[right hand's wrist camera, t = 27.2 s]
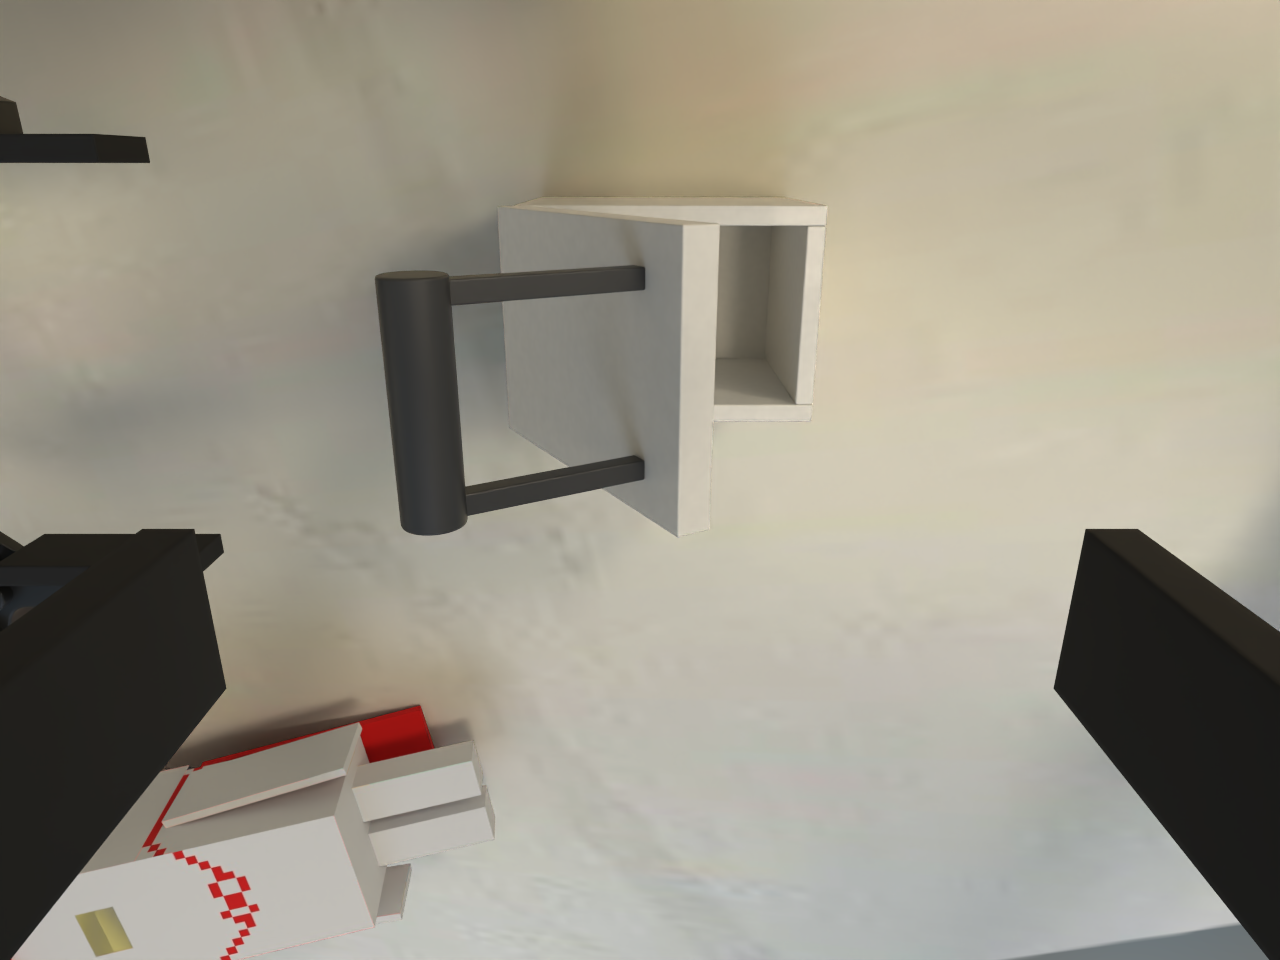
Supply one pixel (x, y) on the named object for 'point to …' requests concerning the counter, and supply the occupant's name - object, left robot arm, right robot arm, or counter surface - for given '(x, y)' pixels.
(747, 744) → the counter surface
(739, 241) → the chest
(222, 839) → the toy
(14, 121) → the left robot arm
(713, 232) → the lid
